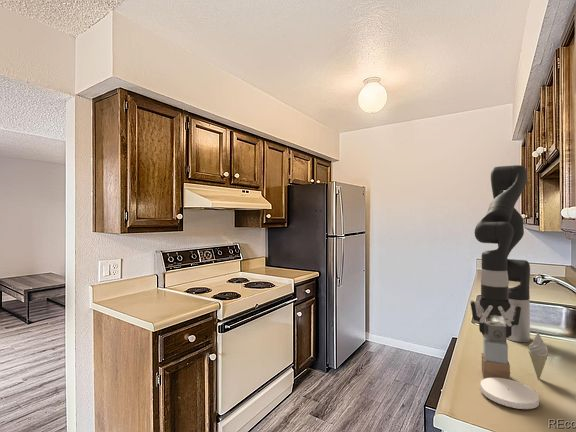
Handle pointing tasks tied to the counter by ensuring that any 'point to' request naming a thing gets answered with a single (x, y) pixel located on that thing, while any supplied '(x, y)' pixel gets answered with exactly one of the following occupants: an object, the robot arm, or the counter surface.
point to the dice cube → (495, 331)
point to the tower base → (495, 369)
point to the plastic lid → (509, 393)
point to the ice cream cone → (538, 354)
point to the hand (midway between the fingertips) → (494, 335)
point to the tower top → (495, 351)
